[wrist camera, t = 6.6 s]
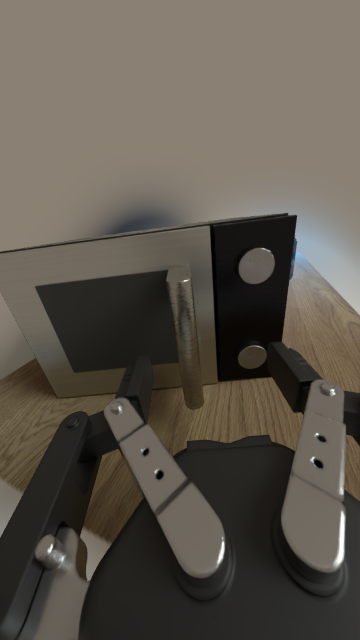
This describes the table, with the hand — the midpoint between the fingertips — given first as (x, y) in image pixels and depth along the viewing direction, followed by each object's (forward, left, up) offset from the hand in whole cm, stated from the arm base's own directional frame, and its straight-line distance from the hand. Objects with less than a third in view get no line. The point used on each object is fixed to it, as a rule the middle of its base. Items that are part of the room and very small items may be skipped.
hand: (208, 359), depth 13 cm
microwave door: (-1, +10, -10) cm, 14 cm away
